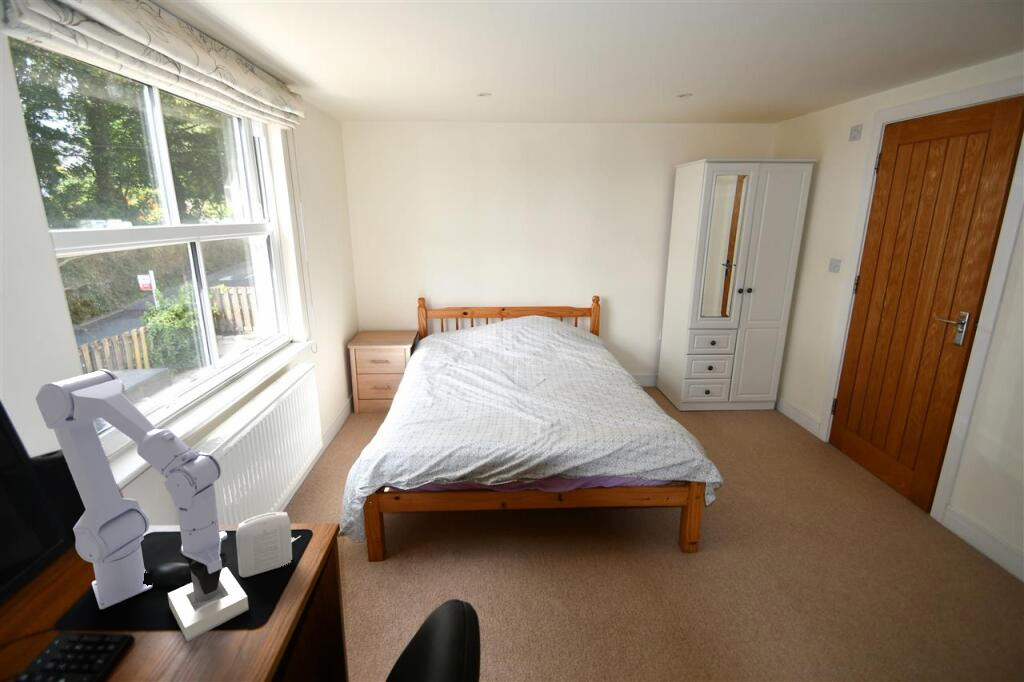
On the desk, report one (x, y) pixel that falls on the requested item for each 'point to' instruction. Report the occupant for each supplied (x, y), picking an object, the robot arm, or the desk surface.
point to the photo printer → (263, 543)
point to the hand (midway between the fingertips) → (206, 584)
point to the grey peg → (198, 591)
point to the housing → (207, 606)
